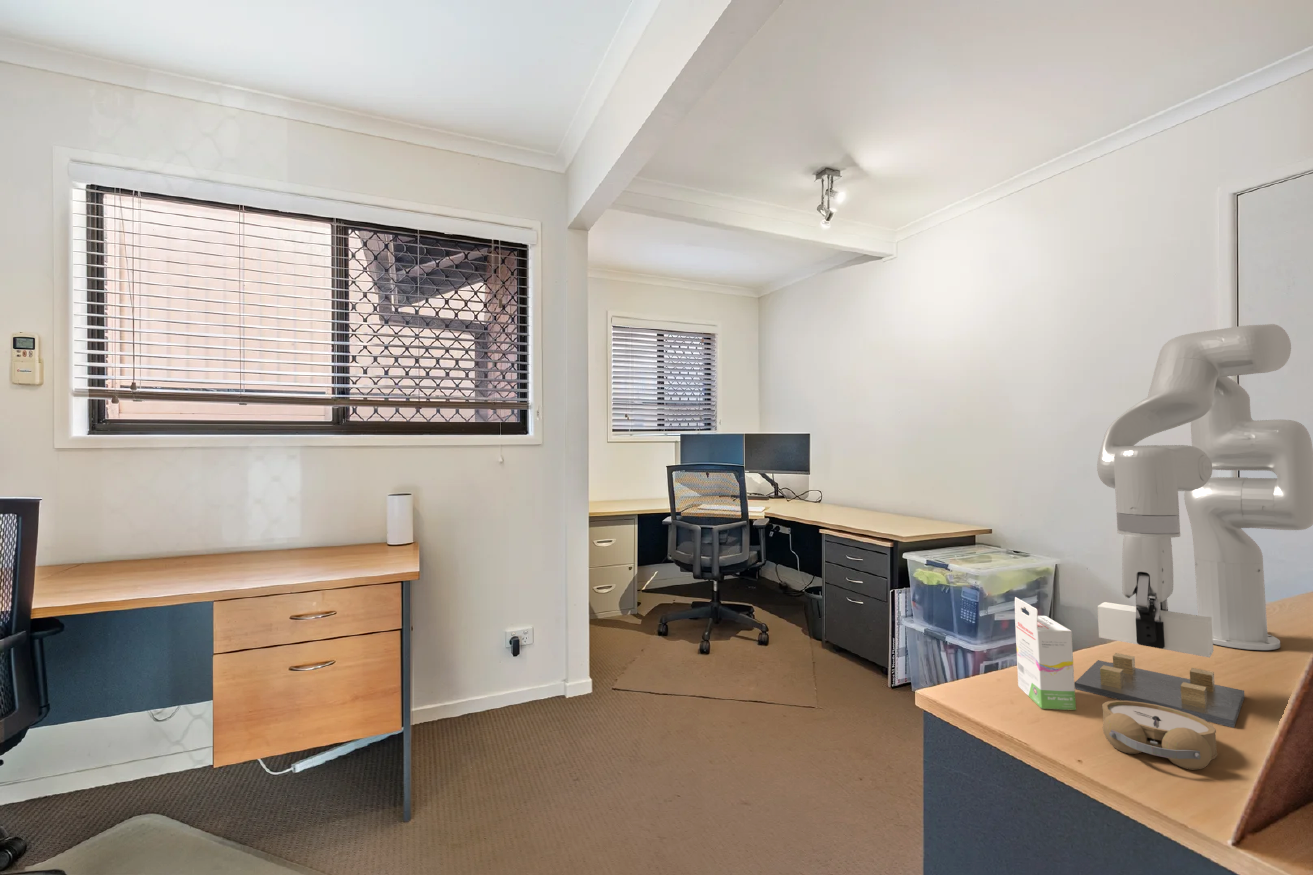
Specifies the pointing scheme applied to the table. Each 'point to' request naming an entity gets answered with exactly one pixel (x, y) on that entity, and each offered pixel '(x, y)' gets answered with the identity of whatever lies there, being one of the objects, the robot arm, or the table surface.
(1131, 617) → the white rectangular block
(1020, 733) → the table surface
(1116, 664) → the cradle jig
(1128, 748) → the alarm clock
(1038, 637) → the ink box
